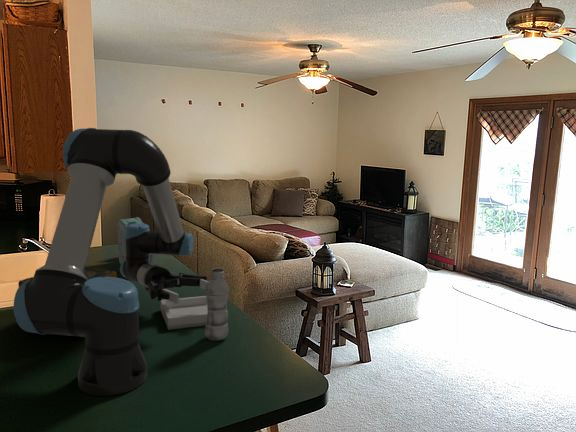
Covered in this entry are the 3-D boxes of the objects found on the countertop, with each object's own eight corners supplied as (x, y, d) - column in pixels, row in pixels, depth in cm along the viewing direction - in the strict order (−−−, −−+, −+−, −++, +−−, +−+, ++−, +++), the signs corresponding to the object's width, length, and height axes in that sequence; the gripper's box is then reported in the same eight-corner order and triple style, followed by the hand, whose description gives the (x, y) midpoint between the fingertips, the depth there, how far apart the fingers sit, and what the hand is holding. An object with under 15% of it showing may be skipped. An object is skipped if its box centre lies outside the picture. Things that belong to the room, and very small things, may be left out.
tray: (227, 322, 144) (228, 311, 144) (168, 329, 137) (168, 318, 137) (215, 304, 159) (215, 294, 158) (160, 310, 152) (160, 300, 151)
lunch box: (154, 276, 187) (154, 223, 183) (127, 279, 182) (126, 225, 178) (140, 259, 210) (139, 212, 206) (116, 261, 205) (115, 213, 201)
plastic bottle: (233, 338, 133) (234, 270, 130) (214, 345, 128) (215, 275, 125) (218, 331, 137) (219, 265, 134) (200, 338, 132) (200, 270, 129)
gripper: (186, 280, 160) (228, 295, 147) (119, 297, 141) (160, 317, 128) (186, 259, 159) (228, 272, 146) (118, 273, 140) (160, 290, 127)
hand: (197, 293), depth 137 cm, fingers open, 13 cm apart
